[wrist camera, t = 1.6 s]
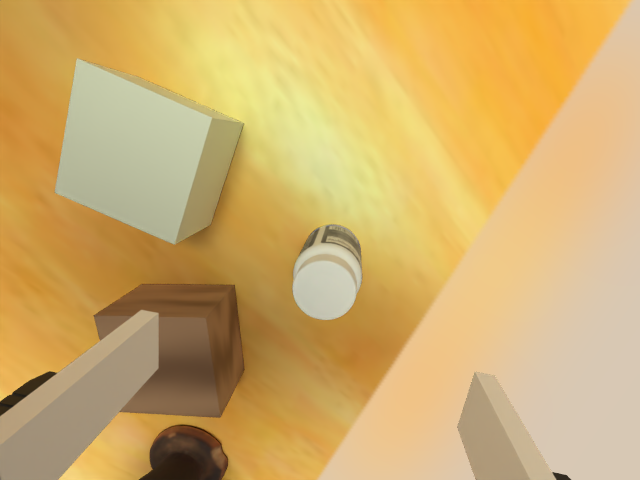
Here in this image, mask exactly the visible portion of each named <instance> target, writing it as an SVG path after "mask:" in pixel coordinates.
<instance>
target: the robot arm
mask: <svg viewBox="0 0 640 480" xmlns="http://www.w3.org/2000/svg"><path fill="white" fill-rule="evenodd" d="M158 368H159V313H156V312H150V311H145V310H140V311H139V312H138V313H136V314H135V315H134V316H133V317H131V318H130V319H129V320H127V321H126V322H125V323H123V324H122V325H121V326H119V327H118V328H117V329H115V330H114V331H113V332H111V333H110V334H109V335H107V336H106V337H105V338H103V339H102V340H101V341H99V342H98V343H97V344H95V345H94V346H93V347H91V348H90V349H89V350H87V351H86V352H85V353H84V354H82V355H81V356H80V357H78V358H77V359H76V360H74V361H73V362H72V363H70V364H69V365H68V366H66V367H65V368H64V369H62V370H61V371H60V372H58V373H55V372H50V371H49V372H47V373H45V374H43V375H41V376H38V377H36V378H34V379H32V380H30V381H28V382H27V383H25V384H24V385H23V386H21V387H20V388H18V389H17V390H16V391H14V392H13V394H12V395H9V396H7V397H6V398H4V399H3V400H2V401H0V480H58V479H59V478H60V477H61V476H62V475H63V474H64V473H65V471H66V470H67V469H68V468H69V467H70V466H71V465H72V464H73V463H74V461H75V460H76V459H77V458H78V457H79V456H80V455H81V454H82V453H83V451H84V450H85V449H86V448H87V447H88V446H89V445H90V444H91V443H92V441H93V440H94V439H95V438H96V437H97V436H98V435H99V434H100V433H101V431H102V430H103V429H104V428H105V427H106V426H107V425H108V424H109V423H110V421H111V420H112V419H113V418H114V417H115V416H116V415H117V414H118V413H119V411H120V410H121V409H122V408H123V407H124V406H125V405H126V404H127V403H128V401H129V400H130V399H131V398H132V397H133V396H134V395H135V394H136V393H137V391H138V390H139V389H140V388H141V387H142V386H143V385H144V384H145V383H146V381H147V380H148V379H149V378H150V377H151V376H152V375H153V374H154V373H155V371H156V370H157V369H158ZM457 428H458V431H459V433H460V436H461V439H462V442H463V445H464V448H465V450H466V453H467V456H468V459H469V462H470V465H471V468H472V470H473V473H474V476H475V479H476V480H571V479H570V478H569V477H568V476H567V475H563V474H559V473H554V472H551V470H550V468H549V467H548V465H547V463H546V461H545V460H544V458H543V456H542V455H541V453H540V451H539V450H538V448H537V446H536V445H535V443H534V441H533V440H532V438H531V436H530V434H529V433H528V431H527V429H526V428H525V426H524V424H523V423H522V421H521V419H520V417H519V416H518V414H517V412H516V411H515V409H514V407H513V406H512V404H511V402H510V401H509V399H508V397H507V395H506V394H505V392H504V390H503V389H502V387H501V385H500V384H499V382H498V380H497V379H496V377H495V376H494V375H490V374H484V373H479V372H475V373H474V376H473V379H472V382H471V385H470V389H469V392H468V395H467V398H466V401H465V404H464V407H463V411H462V414H461V418H460V420H459V423H458V427H457Z"/></svg>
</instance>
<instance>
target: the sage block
mask: <svg viewBox="0 0 640 480" xmlns="http://www.w3.org/2000/svg"><path fill="white" fill-rule="evenodd" d="M243 124H244V123H242V122H240V121H238V120H235V119H233V118H231V117H228V116H226V115H224V114H222V113H219V112H217V111H215V110H213V109H210V108H208V107H206V106H203V105H201V104H199V103H197V102H194V101H192V100H190V99H188V98H185V97H183V96H181V95H178V94H176V93H174V92H172V91H169V90H167V89H165V88H163V87H160V86H158V85H156V84H153V83H151V82H149V81H147V80H144V79H142V78H140V77H137V76H134V75H131V74H127V73H124V72H121V71H117V70H114V69H111V68H107V67H104V66H101V65H97V64H94V63H91V62H87V61H84V60H81V59H77V61H76V67H75V73H74V79H73V85H72V92H71V98H70V104H69V110H68V116H67V122H66V128H65V134H64V140H63V146H62V152H61V158H60V164H59V170H58V176H57V182H56V188H55V193H56V194H59V195H61V196H63V197H66V198H68V199H70V200H72V201H75V202H77V203H79V204H82V205H84V206H86V207H89V208H91V209H93V210H96V211H98V212H100V213H102V214H105V215H107V216H109V217H112V218H114V219H116V220H119V221H121V222H123V223H125V224H128V225H130V226H132V227H135V228H137V229H139V230H142V231H144V232H146V233H149V234H151V235H153V236H155V237H158V238H160V239H162V240H165V241H167V242H169V243H172V244H174V245H175V244H177V243H179V242H180V241H182V240H184V239H186V238H188V237H189V236H191V235H193V234H195V233H197V232H198V231H200V230H202V229H204V228H206V227H207V226H209V225H211V222H212V219H213V216H214V213H215V210H216V207H217V204H218V201H219V198H220V194H221V191H222V188H223V185H224V182H225V179H226V176H227V173H228V170H229V167H230V164H231V161H232V158H233V155H234V151H235V148H236V145H237V142H238V139H239V136H240V133H241V130H242V127H243Z"/></svg>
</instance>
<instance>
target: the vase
mask: <svg viewBox="0 0 640 480" xmlns="http://www.w3.org/2000/svg"><path fill="white" fill-rule="evenodd" d="M150 463H151V466H152V469H153V470H152V471H150V472H149V473H148V474H146V475H145V476H143V477H142V478H140V479H139V480H221V479H222V477H223V476H224V474H225V471H226V469H227V466H228V461H227V458H226V456H225V455H224V454H223V452H222V449H221V444H220V443H219V442H218V441H217V440H216V439H215V438H214V437H212V436H211V435H210V434H208V433H206V432H204V431H202V430H200V429H197V428H193V427H189V426H175V427H170V428H168V429H166V430H165V431H163V432H161V433H160V434H159V435H158V436H157V438H156V439H155V441H154V442H153V445H152V447H151V449H150Z"/></svg>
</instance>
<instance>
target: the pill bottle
mask: <svg viewBox="0 0 640 480" xmlns="http://www.w3.org/2000/svg"><path fill="white" fill-rule="evenodd" d="M293 279H294V281H293V296H294V299H295V301H296V303H297V305H298V307H299V308H300V309H301V310H302V311H303V312H304V313H306V314H307V315H309V316H311V317H313V318H316V319H320V320H331V319H335V318H338V317H340V316H342V315H344V314H345V313H346V312H348V311H349V309H350V308H351V307H352V305H353V304H354V301H355V298H356V294H357V292H358V291H359V289H360V286H361V283H362V265H361V248H360V244H359V241H358V239H357V238H356V236H355V235H354V234H353V233H352V232H351V231H350V230H349V229H347V228H345V227H343V226H341V225H334V224H331V225H324V226H321V227H319V228H317V229H316V230H314V231H313V232H312V233H311V234H310V236H309V237H308V239H307V241H306V243H305V245H304V247H303V249H302V250H301V252H300V255H299V257H298V258H297V261H296V263H295V266H294V270H293Z"/></svg>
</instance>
